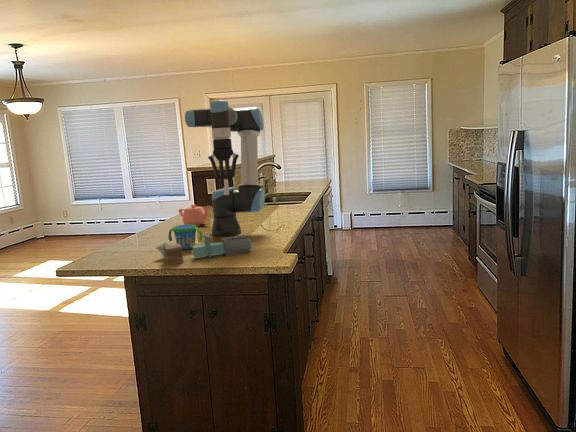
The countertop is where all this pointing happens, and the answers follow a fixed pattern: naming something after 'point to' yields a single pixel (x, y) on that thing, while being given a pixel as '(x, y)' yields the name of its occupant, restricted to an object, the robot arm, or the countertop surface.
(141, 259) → the countertop surface
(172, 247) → the socket block
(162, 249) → the robot head
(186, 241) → the snack cup
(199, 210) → the teapot
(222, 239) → the sleeve
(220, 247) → the tube
